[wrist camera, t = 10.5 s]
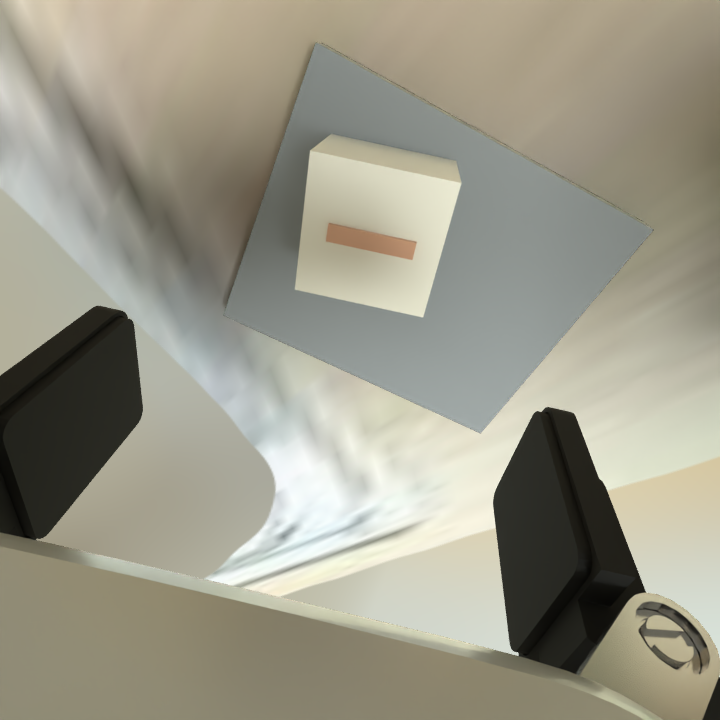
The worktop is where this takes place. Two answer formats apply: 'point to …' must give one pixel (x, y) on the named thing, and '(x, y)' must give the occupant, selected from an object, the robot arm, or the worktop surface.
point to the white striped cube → (374, 223)
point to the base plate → (457, 262)
